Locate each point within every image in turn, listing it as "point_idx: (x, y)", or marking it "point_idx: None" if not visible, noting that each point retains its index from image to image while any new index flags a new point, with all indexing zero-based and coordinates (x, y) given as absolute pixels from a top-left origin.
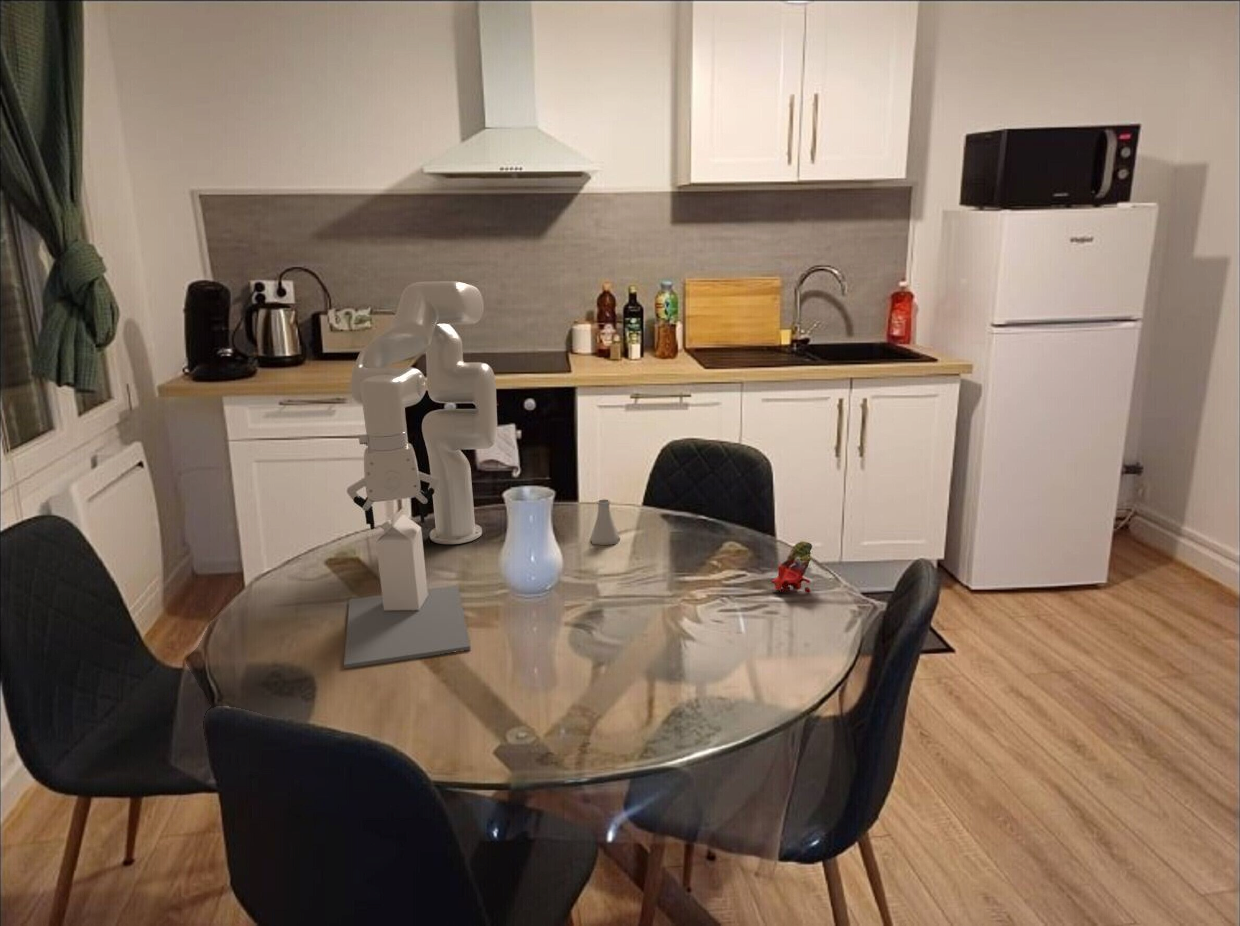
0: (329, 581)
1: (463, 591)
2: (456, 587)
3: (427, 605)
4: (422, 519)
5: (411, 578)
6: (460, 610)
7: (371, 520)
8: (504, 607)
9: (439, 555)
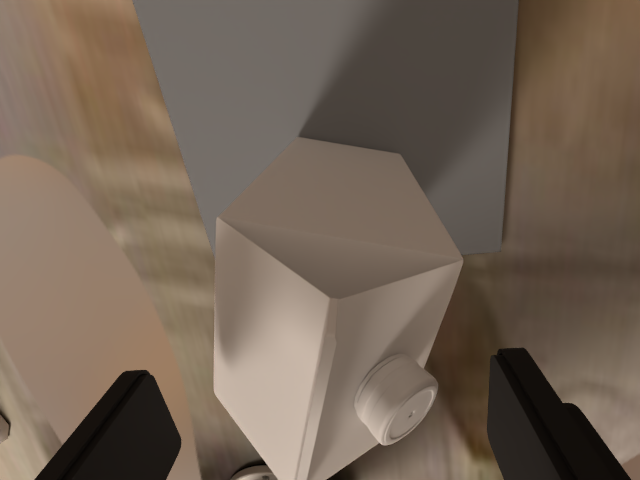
0: (544, 369)
1: (208, 255)
2: None
3: None
4: (121, 389)
5: (291, 160)
6: (177, 119)
7: (547, 410)
8: (77, 141)
9: None
